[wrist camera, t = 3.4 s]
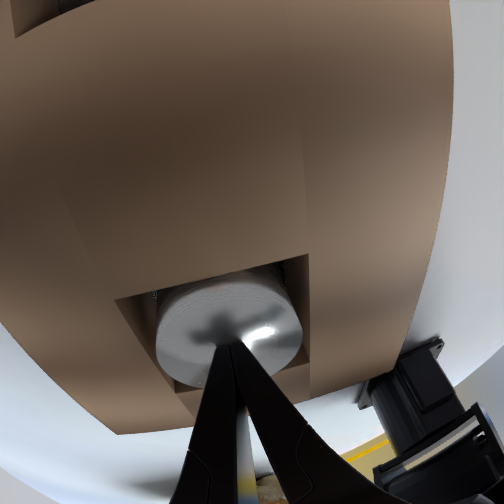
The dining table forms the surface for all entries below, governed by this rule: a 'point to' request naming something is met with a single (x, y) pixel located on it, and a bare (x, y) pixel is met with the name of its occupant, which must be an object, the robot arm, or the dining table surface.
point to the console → (217, 181)
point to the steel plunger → (225, 322)
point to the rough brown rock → (270, 491)
